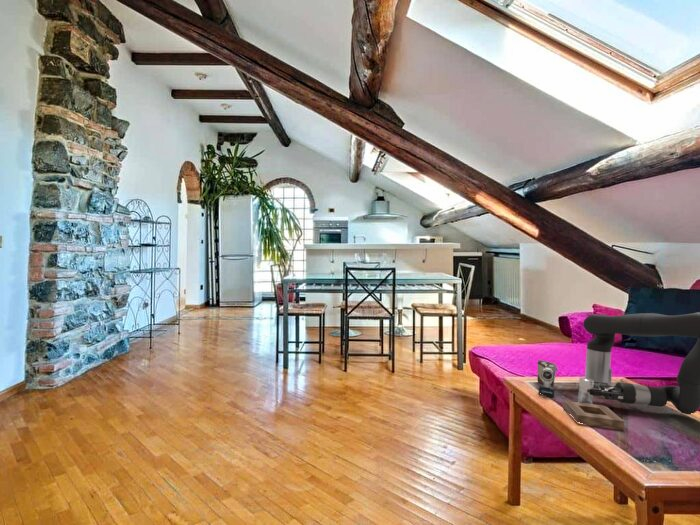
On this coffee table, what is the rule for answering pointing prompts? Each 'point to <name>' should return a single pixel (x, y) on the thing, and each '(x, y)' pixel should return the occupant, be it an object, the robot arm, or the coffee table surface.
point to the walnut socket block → (594, 415)
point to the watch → (547, 382)
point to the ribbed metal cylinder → (585, 390)
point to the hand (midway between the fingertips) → (585, 388)
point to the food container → (542, 366)
